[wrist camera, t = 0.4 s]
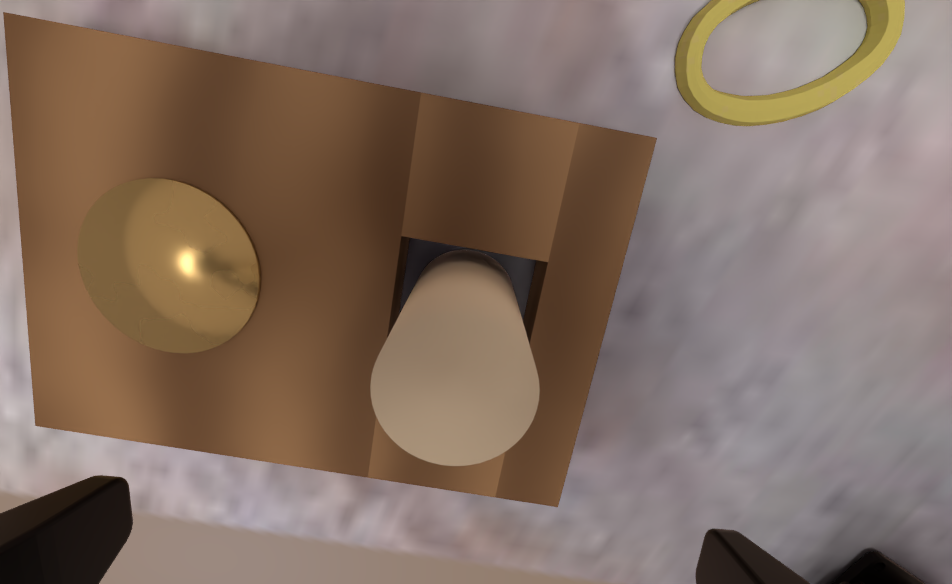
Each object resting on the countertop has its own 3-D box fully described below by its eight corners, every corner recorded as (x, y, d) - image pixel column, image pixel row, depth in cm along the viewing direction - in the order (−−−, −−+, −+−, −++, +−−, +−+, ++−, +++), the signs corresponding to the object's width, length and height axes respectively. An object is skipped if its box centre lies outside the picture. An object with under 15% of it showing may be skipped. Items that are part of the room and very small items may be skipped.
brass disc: (293, 248, 16) (291, 249, 16) (212, 381, 17) (208, 384, 17) (126, 139, 15) (122, 139, 15) (54, 289, 16) (49, 290, 16)
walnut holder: (631, 141, 17) (656, 138, 15) (548, 467, 21) (557, 507, 18) (73, 34, 16) (3, 12, 14) (88, 394, 20) (35, 425, 18)
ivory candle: (534, 287, 19) (574, 374, 11) (476, 363, 20) (475, 493, 12) (451, 229, 18) (431, 278, 10) (395, 310, 19) (338, 410, 11)
